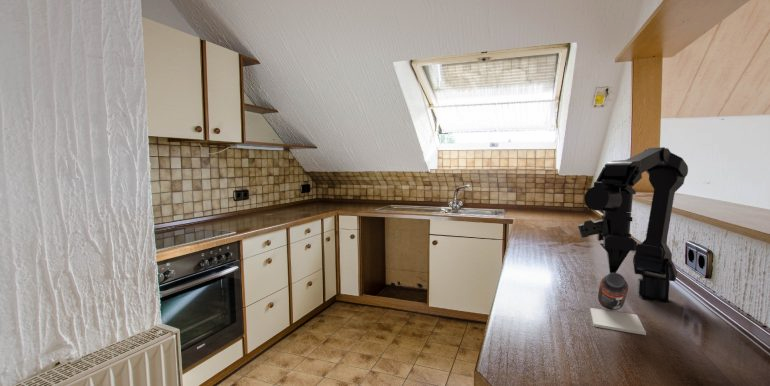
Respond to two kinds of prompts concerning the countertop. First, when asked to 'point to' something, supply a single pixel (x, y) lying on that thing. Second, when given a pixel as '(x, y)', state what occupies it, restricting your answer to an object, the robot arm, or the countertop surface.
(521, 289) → the countertop surface
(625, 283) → the supplement bottle
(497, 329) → the countertop surface
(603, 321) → the mat
